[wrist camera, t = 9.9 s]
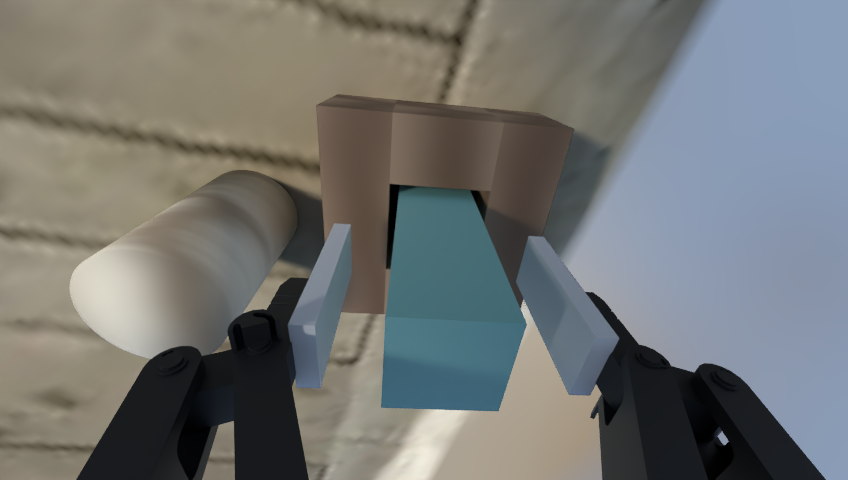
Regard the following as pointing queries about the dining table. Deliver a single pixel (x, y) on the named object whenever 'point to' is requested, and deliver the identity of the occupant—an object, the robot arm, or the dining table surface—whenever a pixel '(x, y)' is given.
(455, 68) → the dining table surface
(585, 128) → the dining table surface
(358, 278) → the socket block
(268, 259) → the round dowel
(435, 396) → the square bit
